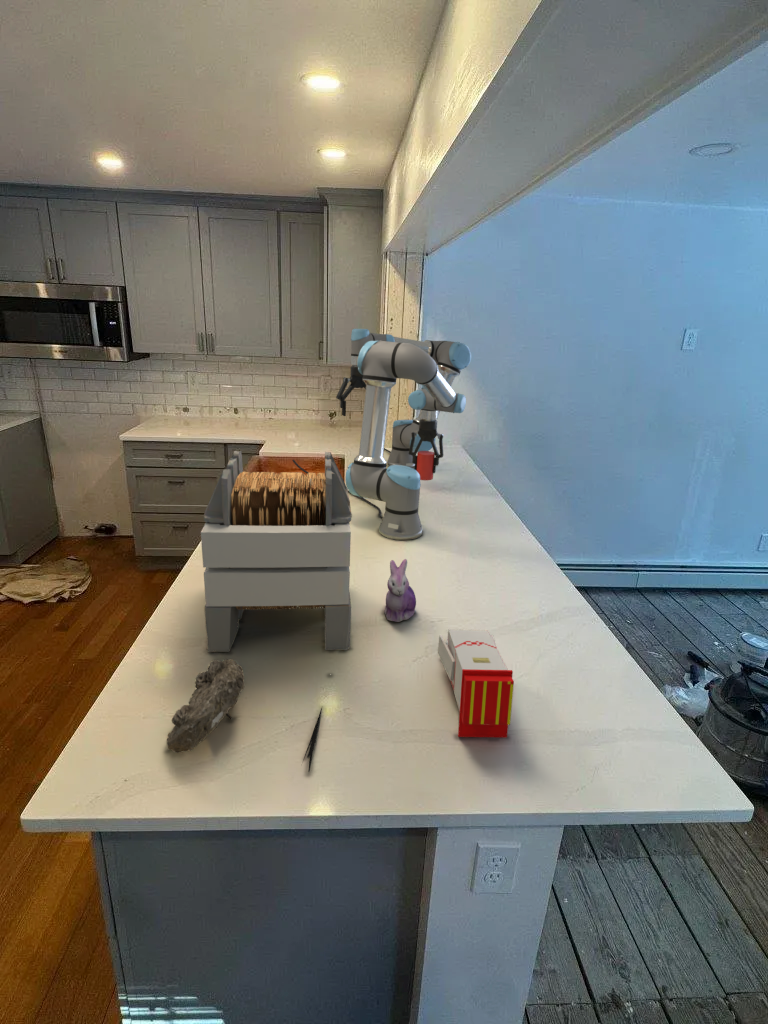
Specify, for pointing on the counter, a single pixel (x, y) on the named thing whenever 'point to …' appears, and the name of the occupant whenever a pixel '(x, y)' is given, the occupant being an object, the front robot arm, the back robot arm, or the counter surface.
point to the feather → (313, 740)
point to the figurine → (399, 594)
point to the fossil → (206, 705)
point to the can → (425, 464)
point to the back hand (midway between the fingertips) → (358, 415)
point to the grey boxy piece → (277, 549)
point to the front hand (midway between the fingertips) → (424, 471)
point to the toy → (478, 682)
